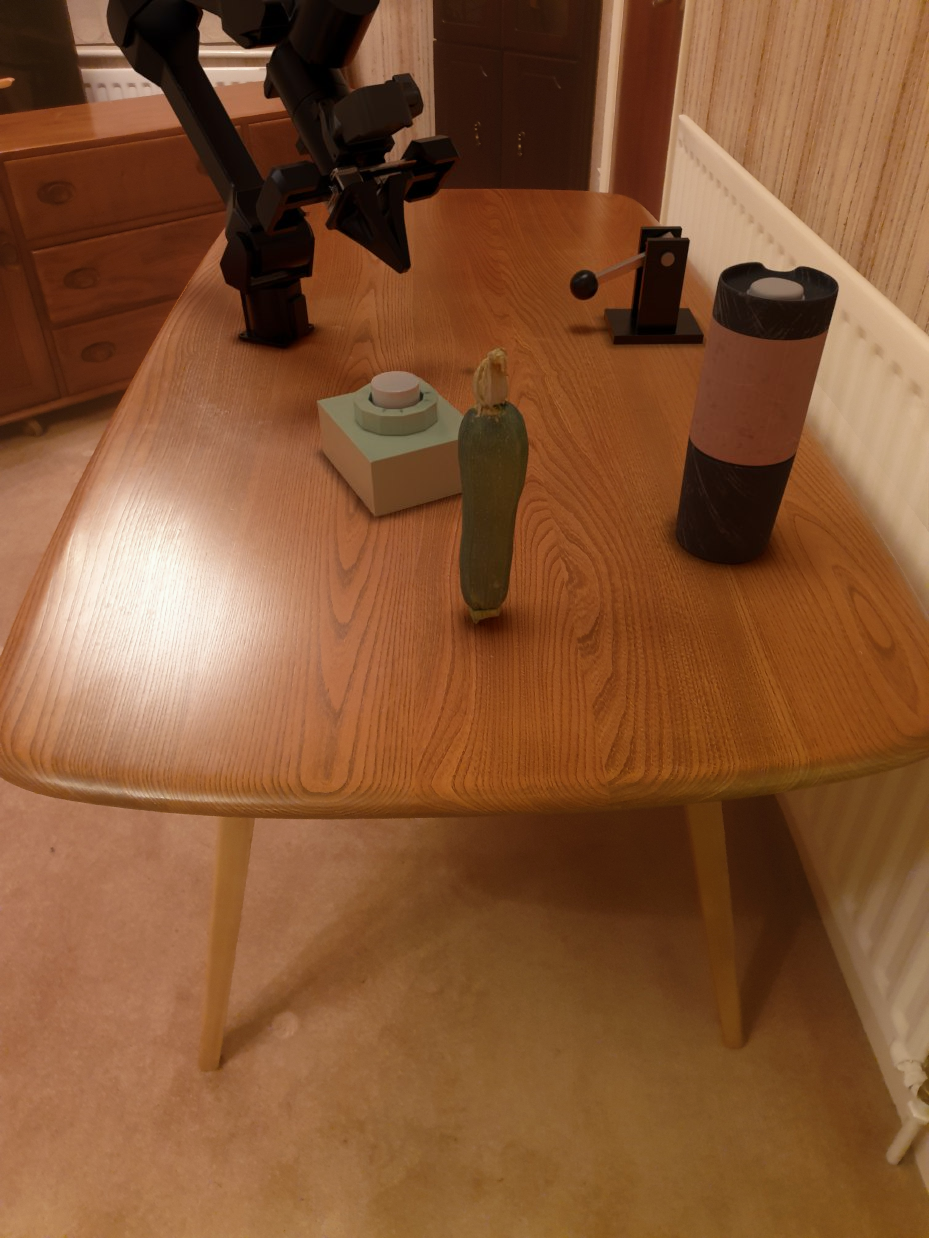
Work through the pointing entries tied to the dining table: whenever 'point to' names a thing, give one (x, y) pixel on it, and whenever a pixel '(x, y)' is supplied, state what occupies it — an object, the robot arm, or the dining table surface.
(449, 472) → the push button box
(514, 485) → the vegetable
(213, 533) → the dining table surface
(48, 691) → the dining table surface
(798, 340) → the travel mug
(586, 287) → the lever
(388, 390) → the pink push button
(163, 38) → the robot arm
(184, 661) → the dining table surface
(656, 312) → the bracket
